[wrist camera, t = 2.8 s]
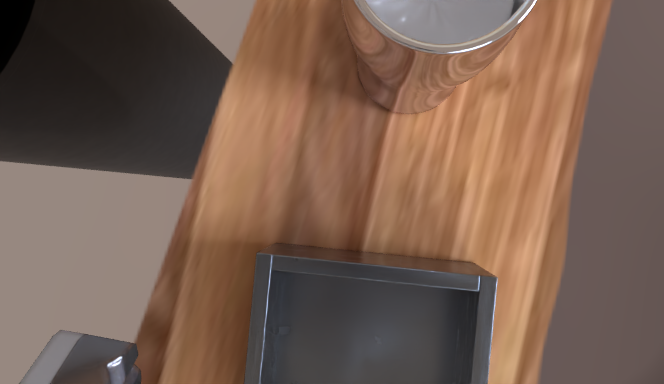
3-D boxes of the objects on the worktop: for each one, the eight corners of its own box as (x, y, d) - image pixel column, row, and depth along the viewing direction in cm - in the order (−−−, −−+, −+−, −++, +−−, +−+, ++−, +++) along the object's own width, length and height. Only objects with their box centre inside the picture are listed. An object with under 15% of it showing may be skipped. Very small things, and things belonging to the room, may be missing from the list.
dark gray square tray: (256, 438, 33) (233, 490, 27) (275, 242, 33) (256, 252, 27) (455, 463, 32) (474, 521, 27) (474, 262, 32) (497, 277, 27)
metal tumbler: (493, 44, 32) (603, -84, 17) (425, 145, 33) (476, 103, 18) (393, -21, 33) (416, -202, 18) (326, 79, 33) (293, -17, 18)
